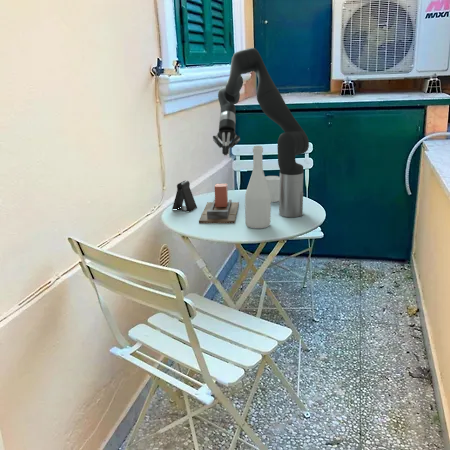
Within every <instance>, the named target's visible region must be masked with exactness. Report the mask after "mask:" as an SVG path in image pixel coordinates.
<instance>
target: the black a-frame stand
mask: <svg viewBox="0 0 450 450" xmlns="http://www.w3.org/2000/svg"><path fill="white" fill-rule="evenodd" d="M194 198H195V197H194V195H193V192H192V190H191V186H190V181H189V180H183V181H181V182H179V183H177V185H176V194H175V198H174V202H173V205H172V209H177V210H182V211H181V212H186V211H189V212H188V213H191V212H193V211H194V210H196V209H197V208H198V205H197V204H196V201H195V199H194ZM183 203H184V204H185V205H183ZM180 207H181V208H180ZM178 208H179V209H178ZM177 210H176V211H177Z"/></svg>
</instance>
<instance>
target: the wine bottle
mask: <svg viewBox="0 0 450 450" xmlns="http://www.w3.org/2000/svg"><path fill="white" fill-rule="evenodd" d="M252 153H253V156H252V157H253V159H252V160H253V161H252V162H253V167H252V172H251V176H250V179H249V182H248V185H247V188H246V191H245V194H244V212H245V213H244V215H245V216H244V217H245V220H244V221H245V225H246V227H248V228H251V229H257V230H258V229H260V230H261V229H266V228H268V227H269V226H270V225H271V219H272V218H271V217H272V216H271V212H272V208H271V207H272V202H271V194H270V191H269V188H268V185H267V182H266V178H265V177H266V176H265V175H266V174H265V172H264V168H263V167H264V165H263V153H264V147H263V145H253V148H252Z"/></svg>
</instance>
